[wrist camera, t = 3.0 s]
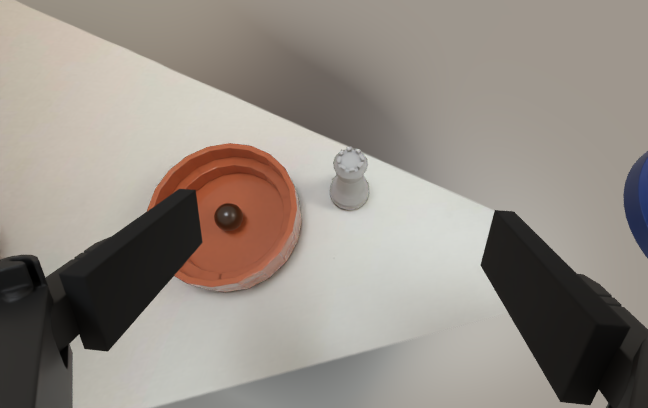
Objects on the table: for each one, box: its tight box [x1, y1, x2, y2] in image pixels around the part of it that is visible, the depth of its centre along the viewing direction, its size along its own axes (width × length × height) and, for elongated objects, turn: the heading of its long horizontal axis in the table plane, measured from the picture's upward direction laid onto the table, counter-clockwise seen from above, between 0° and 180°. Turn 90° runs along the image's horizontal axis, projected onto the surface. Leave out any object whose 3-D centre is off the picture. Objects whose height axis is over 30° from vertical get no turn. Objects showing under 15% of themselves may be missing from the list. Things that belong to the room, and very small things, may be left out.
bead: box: [214, 203, 243, 231], centre depth 36 cm, size 3×3×3 cm
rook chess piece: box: [330, 147, 369, 210], centre depth 34 cm, size 4×4×8 cm
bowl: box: [147, 143, 302, 292], centre depth 36 cm, size 15×15×4 cm
